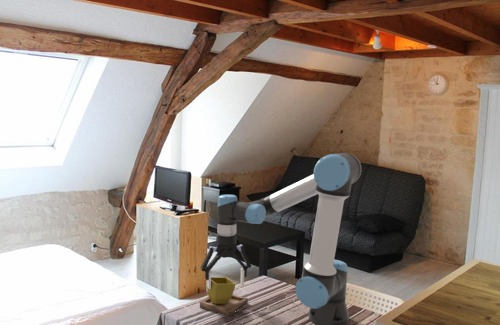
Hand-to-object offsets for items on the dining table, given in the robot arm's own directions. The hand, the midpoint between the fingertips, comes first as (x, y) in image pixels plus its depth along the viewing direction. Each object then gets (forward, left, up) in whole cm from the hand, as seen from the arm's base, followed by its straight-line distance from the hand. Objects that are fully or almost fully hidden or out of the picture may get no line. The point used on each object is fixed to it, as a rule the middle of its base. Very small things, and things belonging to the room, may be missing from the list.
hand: (225, 286), depth 186 cm
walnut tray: (0, 0, -8) cm, 8 cm away
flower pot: (+2, +2, -7) cm, 7 cm away
